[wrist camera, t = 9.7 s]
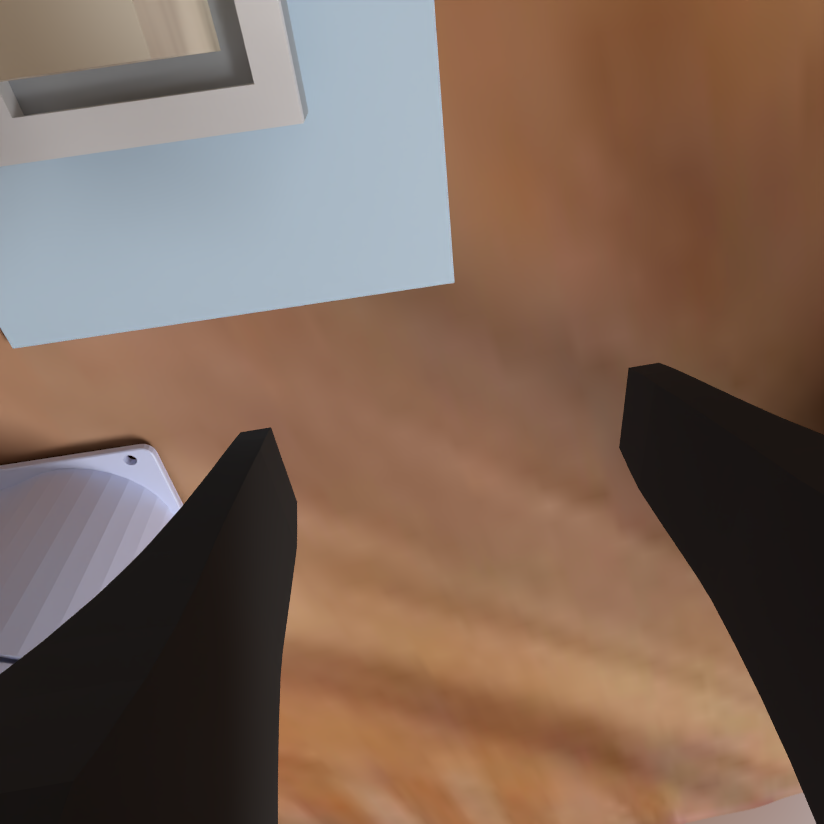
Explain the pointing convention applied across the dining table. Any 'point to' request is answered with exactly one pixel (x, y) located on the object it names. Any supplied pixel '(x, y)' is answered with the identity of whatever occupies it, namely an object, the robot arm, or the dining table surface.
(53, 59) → the birch block
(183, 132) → the base
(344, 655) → the dining table surface
